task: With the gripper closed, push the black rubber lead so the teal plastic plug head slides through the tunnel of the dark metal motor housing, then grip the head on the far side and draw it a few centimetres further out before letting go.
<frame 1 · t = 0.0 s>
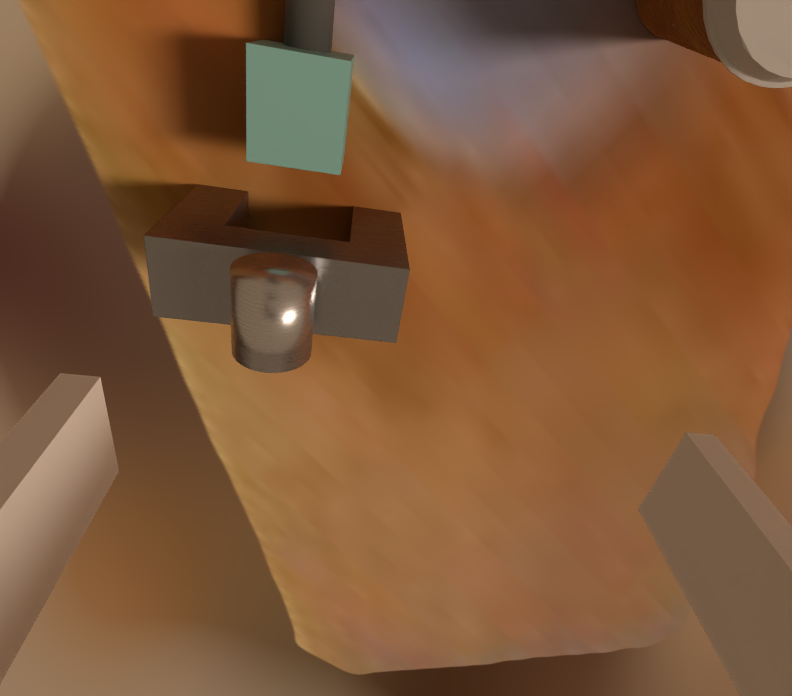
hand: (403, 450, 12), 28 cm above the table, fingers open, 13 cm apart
plug: (306, 100, 33), on the table
housing: (299, 232, 38), on the table
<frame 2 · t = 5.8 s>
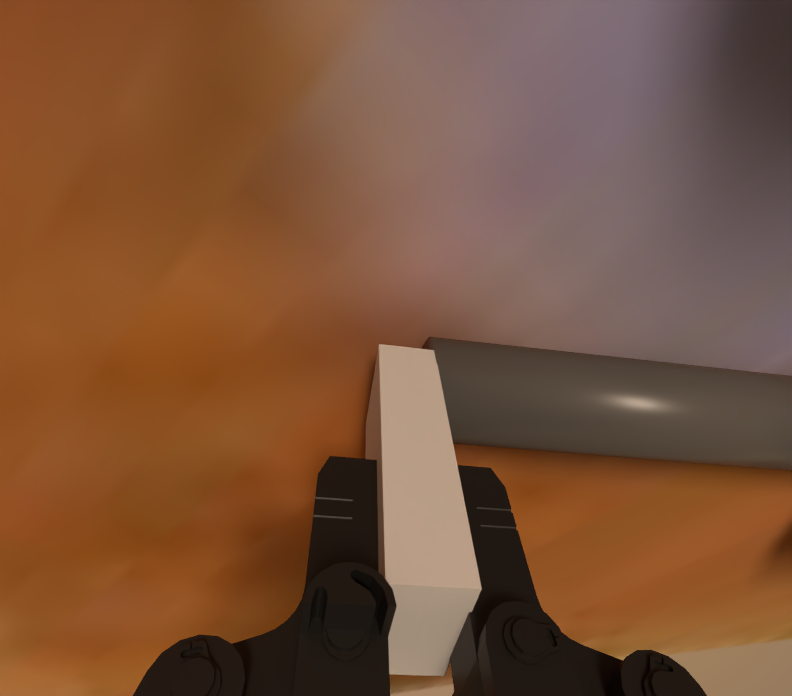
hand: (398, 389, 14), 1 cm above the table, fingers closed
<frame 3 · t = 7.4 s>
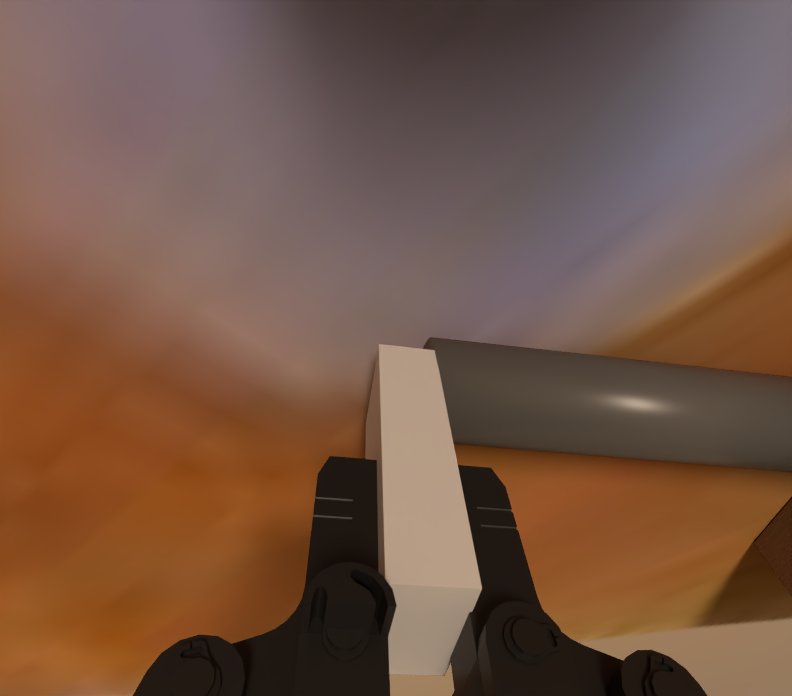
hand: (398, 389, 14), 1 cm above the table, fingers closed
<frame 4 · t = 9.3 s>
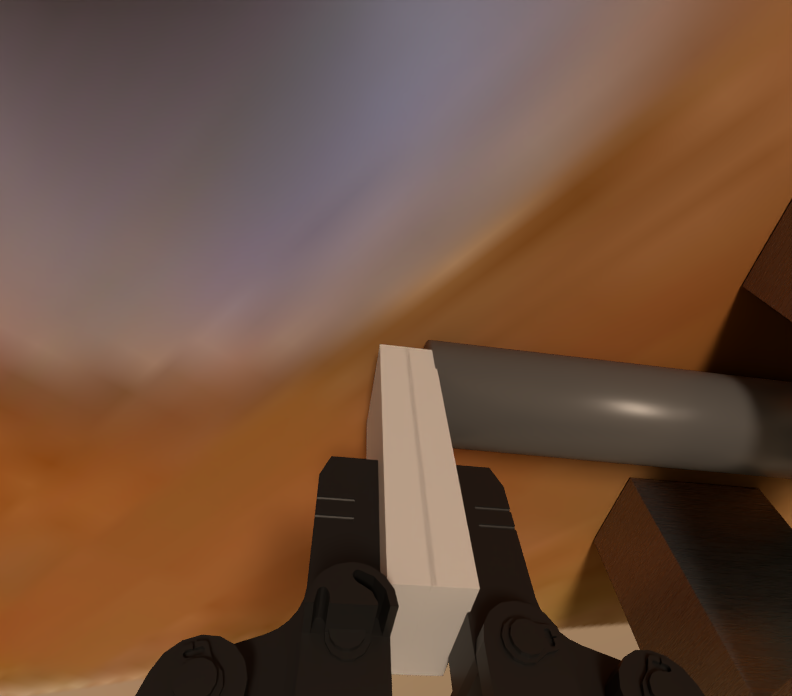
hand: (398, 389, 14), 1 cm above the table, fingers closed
housing: (751, 402, 16), on the table
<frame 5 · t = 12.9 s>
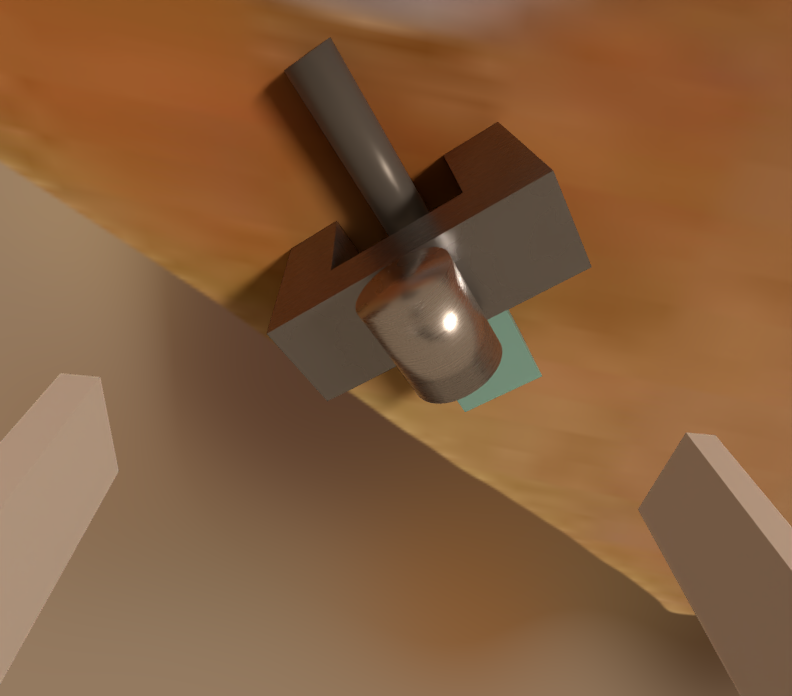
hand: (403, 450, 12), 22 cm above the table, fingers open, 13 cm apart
plug: (467, 317, 36), on the table
housing: (409, 223, 32), on the table
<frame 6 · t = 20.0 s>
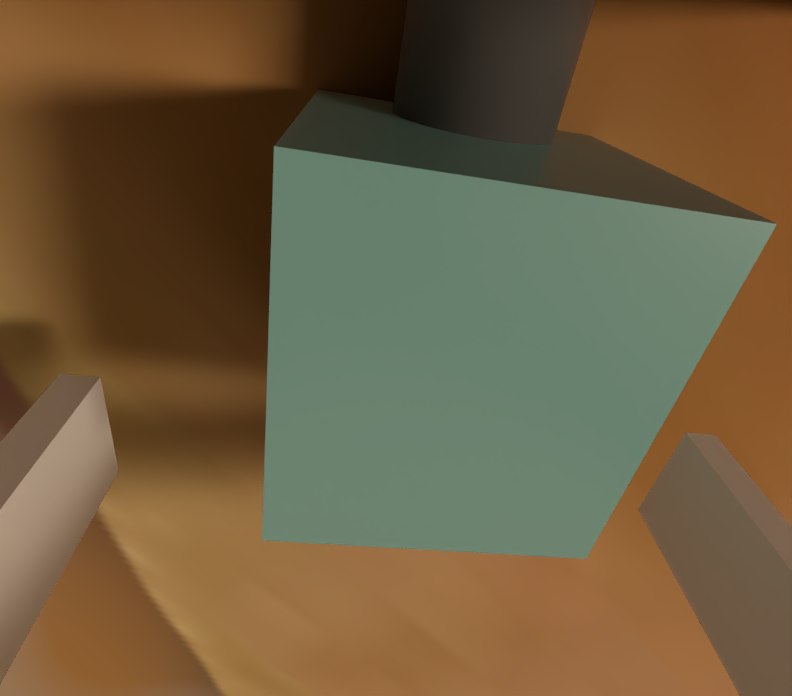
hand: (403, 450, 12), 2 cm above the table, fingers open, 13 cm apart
plug: (429, 256, 11), on the table
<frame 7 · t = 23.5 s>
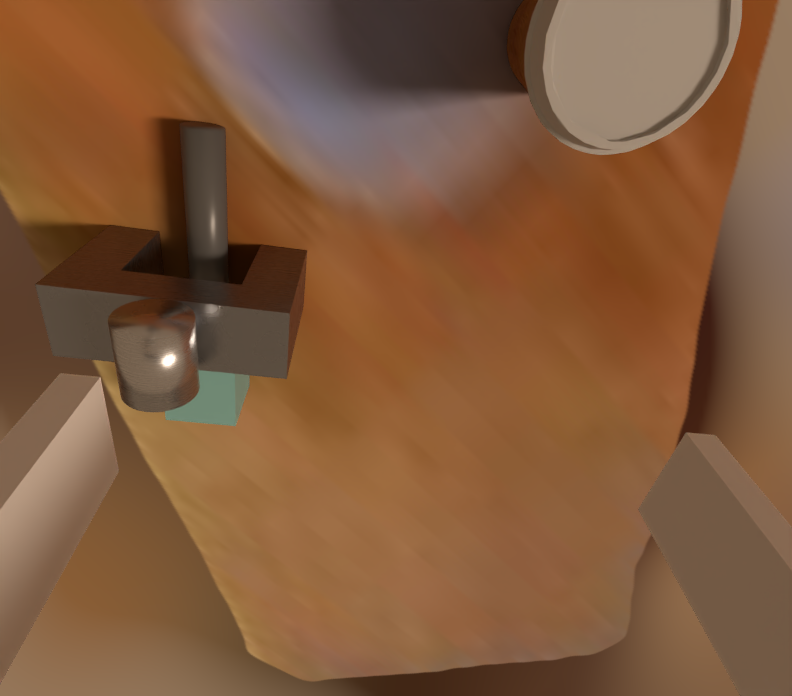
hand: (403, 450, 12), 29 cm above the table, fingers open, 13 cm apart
plug: (217, 355, 44), on the table
disposable coffee cup: (554, 38, 32), on the table
housing: (212, 268, 40), on the table
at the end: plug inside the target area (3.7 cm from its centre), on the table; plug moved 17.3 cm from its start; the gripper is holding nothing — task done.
